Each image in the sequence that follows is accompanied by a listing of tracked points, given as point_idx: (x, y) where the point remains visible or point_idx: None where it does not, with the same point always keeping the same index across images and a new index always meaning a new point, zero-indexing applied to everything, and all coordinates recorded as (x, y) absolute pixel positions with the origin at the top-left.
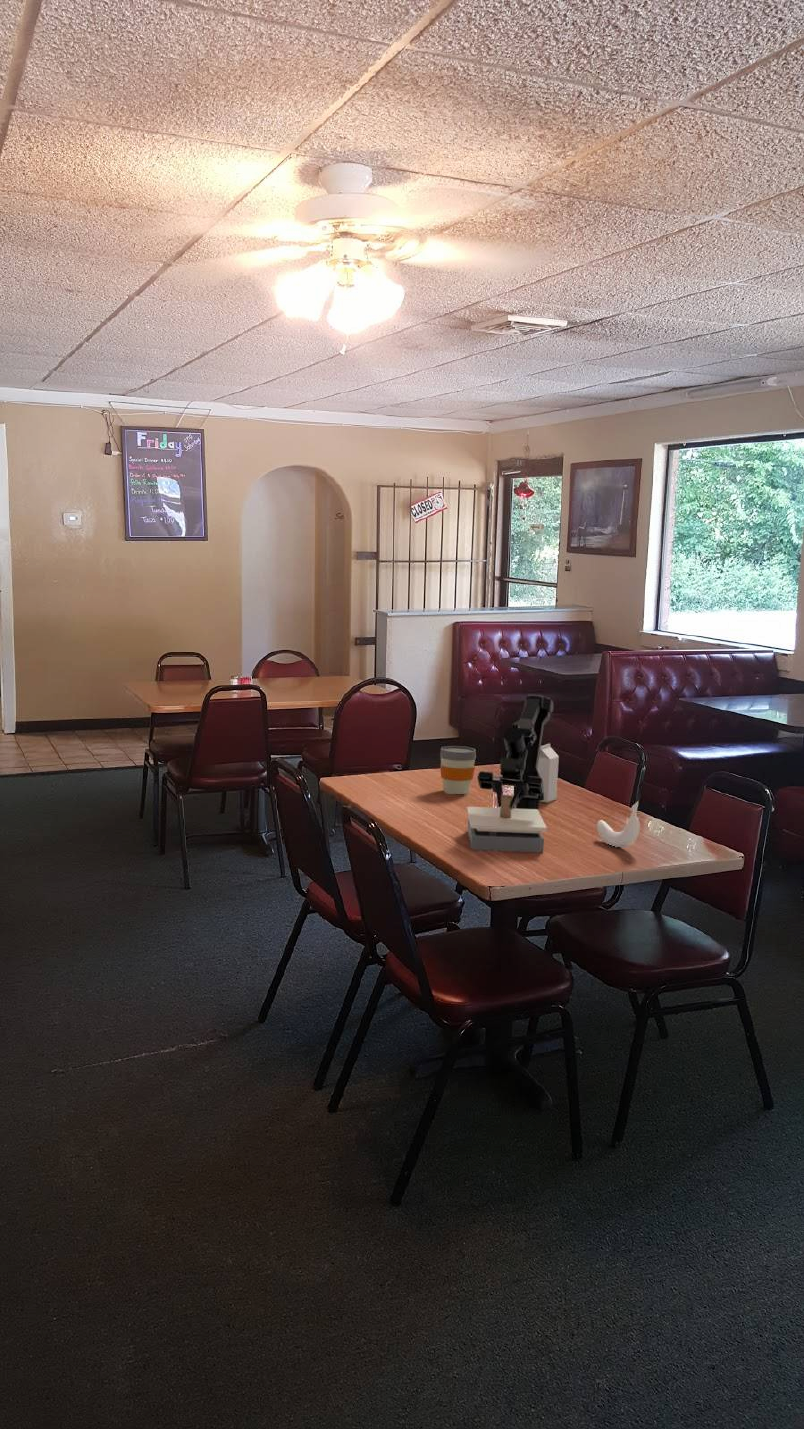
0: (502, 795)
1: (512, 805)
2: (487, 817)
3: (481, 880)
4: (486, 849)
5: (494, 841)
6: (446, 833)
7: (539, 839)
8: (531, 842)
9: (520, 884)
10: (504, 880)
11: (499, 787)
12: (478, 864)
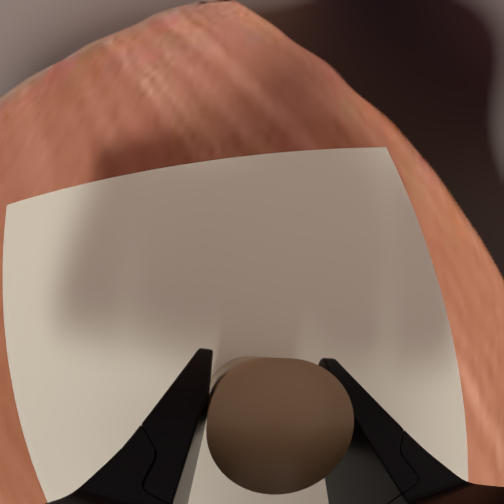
0: (340, 455)
1: (191, 359)
2: (360, 325)
3: (246, 14)
4: None
5: None
6: None
7: None
8: None
9: (167, 12)
10: (199, 18)
11: (430, 499)
12: (276, 81)
